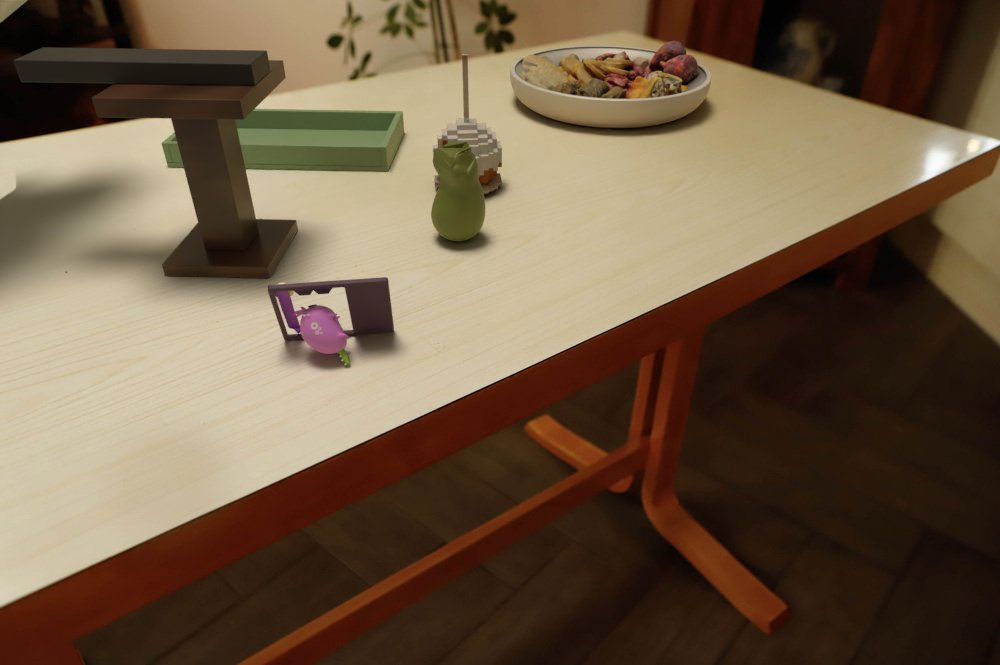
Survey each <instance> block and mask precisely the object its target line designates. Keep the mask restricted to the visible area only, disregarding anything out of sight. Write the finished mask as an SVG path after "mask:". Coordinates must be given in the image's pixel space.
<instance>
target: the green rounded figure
mask: <svg viewBox="0 0 1000 665" xmlns="http://www.w3.org/2000/svg"><path fill="white" fill-rule="evenodd" d="M471 151H472V150H471V147H470V146H469V144H468V143H467V142H465V143H459V142H455V141H452V142H449V143H448V144H446V145H444V146H443V147H441V148H438V149H436V150H434V156H432V164H433V168H434V170H435V171H436V173H437V175H439V177H440V185H439V187H437V188H438V189H437V191H436V193H435V196H434V197H433V198H434V199H433V201H432V205H431V211H430V212H431V213H430V216H431V222H432V225H433V227H434V229H435V231H436V232H437V234H438V235H440V236H441V237H442V238H444V239H445V240H447V241H452V242H465V241H469V240H470V239H473V237H475V236H476V235H477V234H478V233H479V232H480V231H481V229H482V228H483V226H484V223H485V217H486V200H485V194H484V193H483V189H482V187H481V184H480V182H479V179H478V173H479V167H478V162H477V160H476V157H475V155H474V154H473V153H472V152H471Z"/></svg>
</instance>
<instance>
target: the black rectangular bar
mask: <svg viewBox="0 0 1000 665" xmlns="http://www.w3.org/2000/svg"><path fill="white" fill-rule="evenodd" d="M269 60H270V59H269V55H268V51H267V50H251V49H249V50H248V49H244V50H243V49H190V48H189V49H187V48H186V49H185V48H183V49H180V48H176V49H175V48H118V47H117V48H115V47H114V48H112V47H111V48H110V47H109V48H108V47H50V46H49V47H47V46H46V47H43V46H42V47H40V48H38V49H36V50H34V51H33V50H32V52H29V53H27V54H24V55H22V56H19V57H18V58H15V59H13V64H14V67H15V70H16V72H17V75H18V78H19V81H20V82H21V83H55V84H56V83H57V84H58V83H62V84H179V85H243V86H255V85H256V84H257V83H258V82H259V81H260V80H261V79H263V78H264V77H265V76H266V75H267V74H268V73H269V72H270V66H269Z"/></svg>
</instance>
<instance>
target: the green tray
mask: <svg viewBox="0 0 1000 665" xmlns="http://www.w3.org/2000/svg"><path fill="white" fill-rule="evenodd" d="M235 121H236V126H237V130H238V135H239V140H240V145H241V150H242V154H243V159H244V164H245V169H252V170H253V169H256V170H301V171H303V170H305V171H306V170H307V171H308V170H311V171H354V172H355V171H357V172H358V171H359V172H360V171H361V172H388V171H389V170H390V168H391V165H392V162H393V161H394V159H395V155H396V154H397V151H398V149H399V147H400V144H401V142H402V140H403V137H404V134H405V123H404V110H357V109H356V110H355V109H354V110H353V109H352V110H346V109H297V108H296V109H295V108H293V109H292V108H291V109H290V108H289V109H288V108H287V109H286V108H255V109H254V110H253V111H252V112H251V113H250V114H249V115H248V116H247V117H246V118H245V119H244V120H235ZM161 147H162V150H163V154H164V157H165V158H164V159H165V161H166V165H167V168H184V166H183V162H182V159H181V155H180V151H179V147H178V143H177V139H176V136H175V132H174V131H173V133H172V134H170V135H169V136H168V137H167V138H166V139H165V140H163V141H162V142H161Z"/></svg>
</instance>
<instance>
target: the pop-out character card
mask: <svg viewBox="0 0 1000 665" xmlns="http://www.w3.org/2000/svg"><path fill="white" fill-rule="evenodd" d="M335 288H336V289H337V288H344V291H345V297H346V301H347V306H348V310H349V317H350V321H351V326H352V329H345V330H344V328H343V327H342V325H341V323H340V321H339V319H340V318H341V316H340V315H338V313H336V312H335V311H334V310H333V309H332V308H330V307H328V306H325V305H322V304H321V305H320V304H317V303H316V304H310V305H307V308H306V307H304V306H300V309H299V310H296V311H295V307H294V304H293V301H292V296H293V295H294V293H296V294H297V295H298V296H302V297H303V296H311V294H312V293H313V292H315V293H316V294H317V295H326V294H327V295H328V294H330V292H331V291H332V289H335ZM390 291H391V290H390V282H389V278H388V277H385V276H384V277H368V278H367V277H366V278H354V279H353V278H352V279H339V280H323V281H310V282H309V281H307V282H293V283H286V282H278V283H277V284H269V285H268V286H267V294H268V296H269V299H270V302H271V305H272V309H273V311H274V314H275V316H276V320H277V323H278V326H279V329H280V333H281V334H282V338H283V340H284V341H294V340H303V341H304V342H305V343H306V345H308V346H309V347H310V348H311V349H313V350H314V351H316V352H318V353H321V354H327V355H333V354H338V355H339V358H342V359H341V360H340V361H341V362H344V364H343V365H344V366H349V365H350V364H351V362H350V358H349V356H348V355H347V352H346V350H345V348H346V346H347V343H348V339H350V336H362V335H374V334H375V335H376V334H388V333H393V332H395V326H394V325H395V324H394V317H393V309H392V300H391V292H390ZM277 299H278V300H277ZM278 302H279V303H278ZM279 305H280V306H279ZM282 315H283V316H284V317H283V316H282ZM300 316H301V317H300ZM298 317H300V321H299V319H298ZM283 318H284V319H285V321H286V324H287V327H286V325H285V321H284V319H283ZM287 328H289V329H292V330H294V332H296V333H292V334H289V333H288V330H287Z"/></svg>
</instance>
